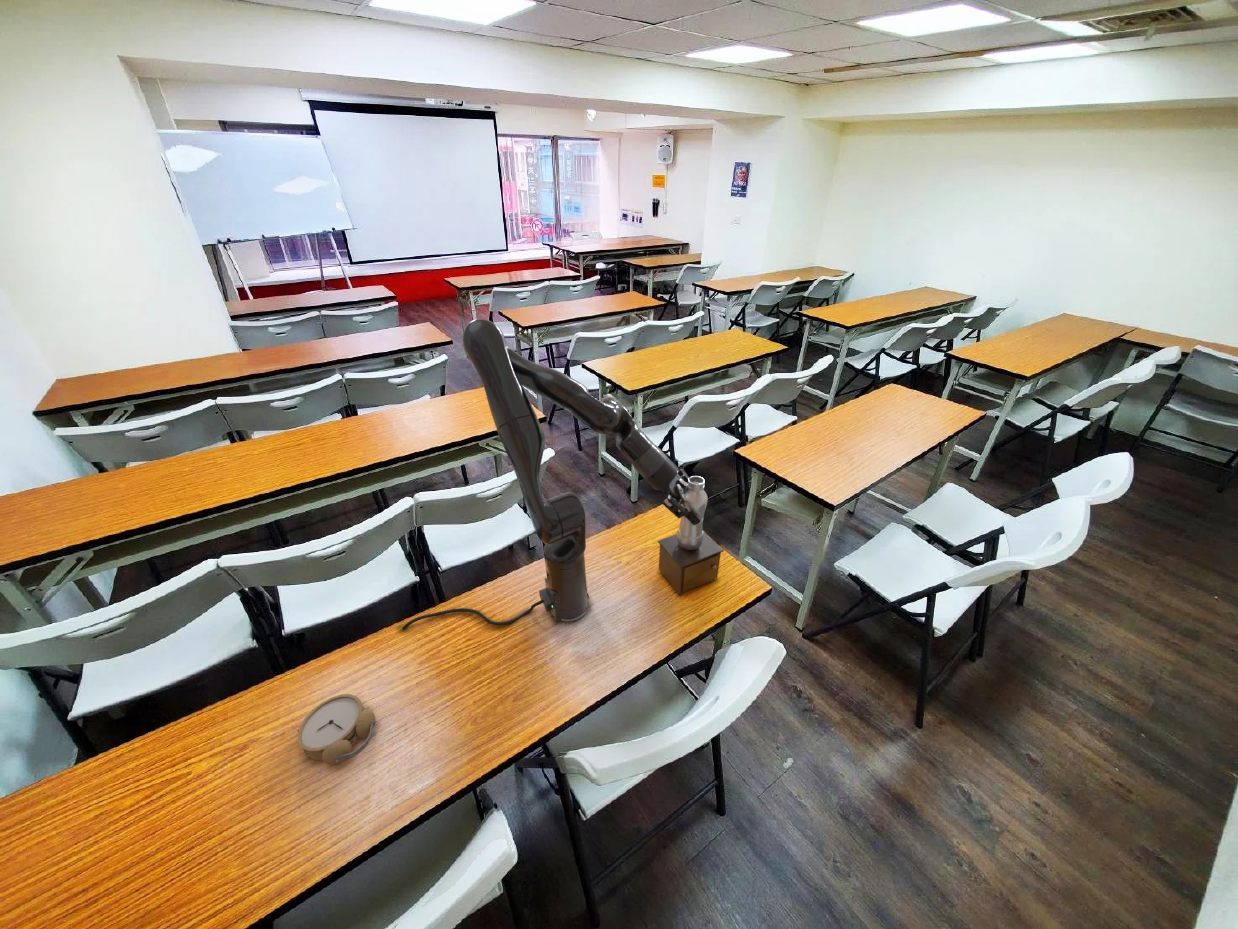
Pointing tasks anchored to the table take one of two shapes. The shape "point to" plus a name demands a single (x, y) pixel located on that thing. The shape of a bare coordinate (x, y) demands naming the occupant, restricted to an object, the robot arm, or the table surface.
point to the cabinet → (689, 563)
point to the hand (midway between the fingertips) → (699, 514)
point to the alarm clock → (336, 729)
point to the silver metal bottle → (697, 501)
